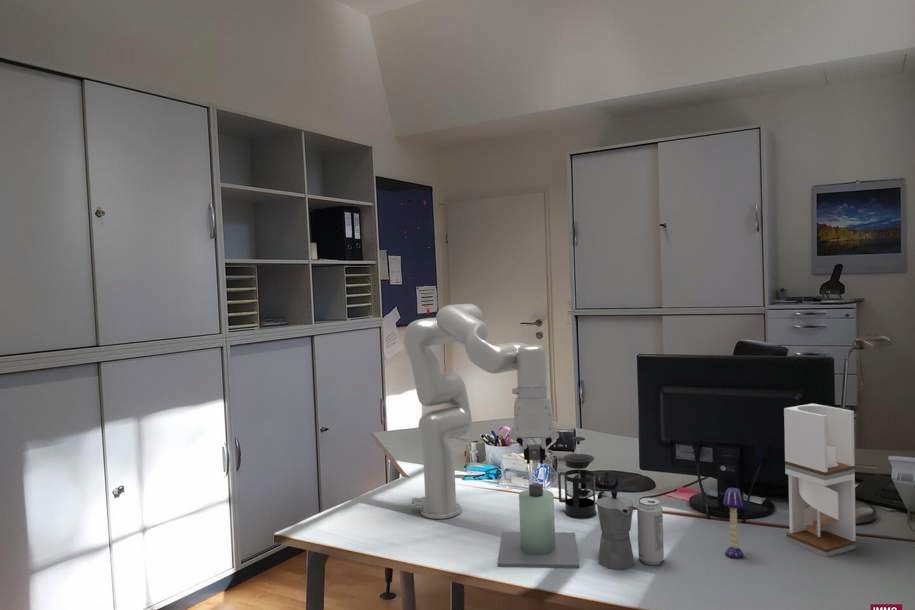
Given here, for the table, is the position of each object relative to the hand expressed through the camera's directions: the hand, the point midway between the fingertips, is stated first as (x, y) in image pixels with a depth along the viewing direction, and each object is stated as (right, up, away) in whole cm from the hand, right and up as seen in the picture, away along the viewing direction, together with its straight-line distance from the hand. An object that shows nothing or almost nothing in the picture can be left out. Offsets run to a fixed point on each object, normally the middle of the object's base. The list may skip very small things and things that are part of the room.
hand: (534, 462), depth 170 cm
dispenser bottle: (+1, -23, +1) cm, 23 cm away
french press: (+16, -22, +26) cm, 38 cm away
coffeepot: (+19, -23, -6) cm, 31 cm away
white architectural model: (+73, -21, -2) cm, 76 cm away
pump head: (0, -2, -2) cm, 3 cm away
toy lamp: (+49, -22, -6) cm, 54 cm away
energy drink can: (+28, -23, -8) cm, 37 cm away
